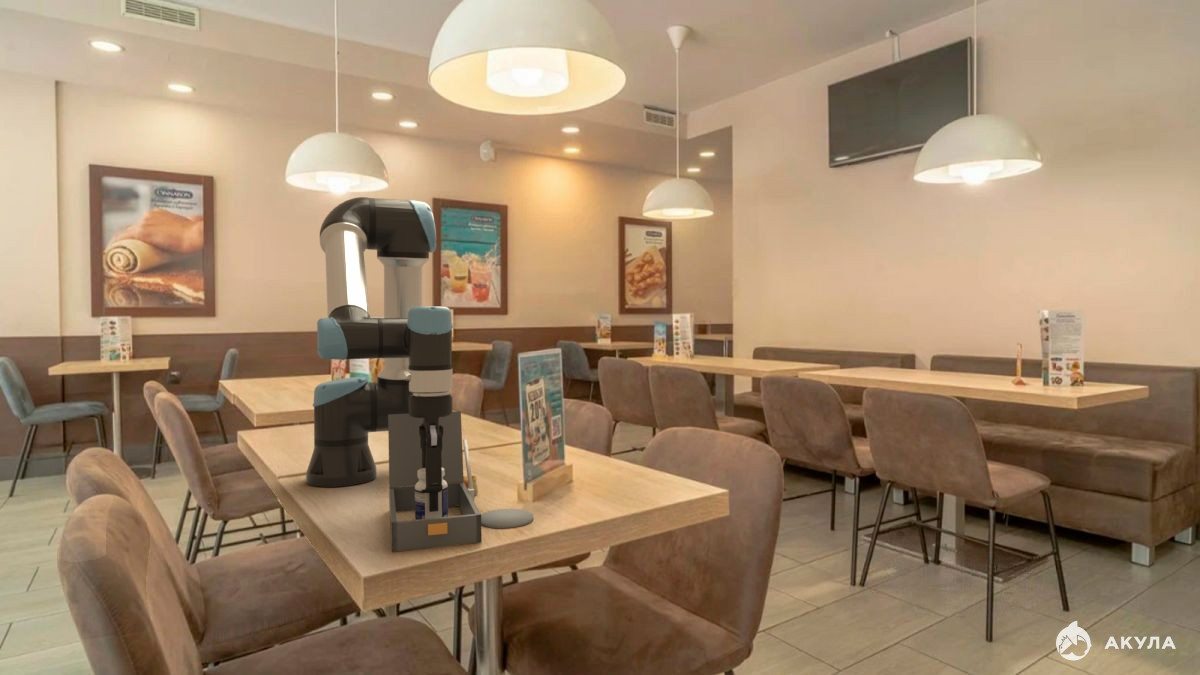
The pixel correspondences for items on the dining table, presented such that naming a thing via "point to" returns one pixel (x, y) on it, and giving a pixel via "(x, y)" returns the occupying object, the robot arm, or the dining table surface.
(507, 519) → the pad
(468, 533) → the case
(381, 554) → the dining table surface
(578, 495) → the dining table surface
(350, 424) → the robot arm
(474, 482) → the pastry
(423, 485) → the pill bottle
